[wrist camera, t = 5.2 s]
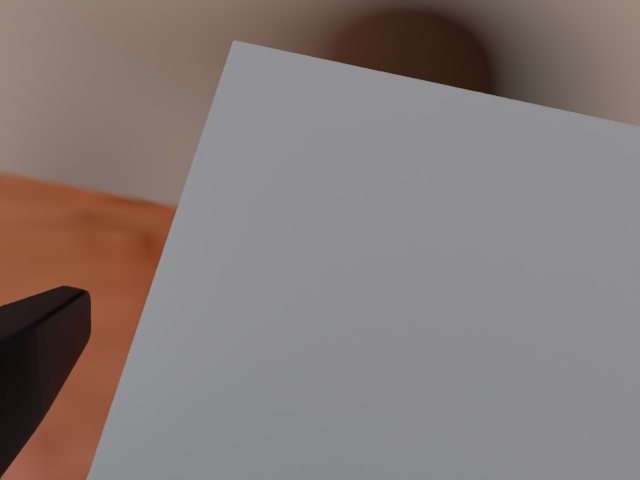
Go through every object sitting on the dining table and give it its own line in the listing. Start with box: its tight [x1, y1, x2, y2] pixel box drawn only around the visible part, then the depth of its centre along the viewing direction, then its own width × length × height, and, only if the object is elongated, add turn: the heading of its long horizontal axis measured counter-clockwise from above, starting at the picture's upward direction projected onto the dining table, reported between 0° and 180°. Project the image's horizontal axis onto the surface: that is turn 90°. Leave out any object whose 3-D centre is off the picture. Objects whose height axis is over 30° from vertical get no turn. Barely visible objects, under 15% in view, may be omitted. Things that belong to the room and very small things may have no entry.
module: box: [87, 40, 640, 480], centre depth 9 cm, size 6×4×12 cm, turn 168°
